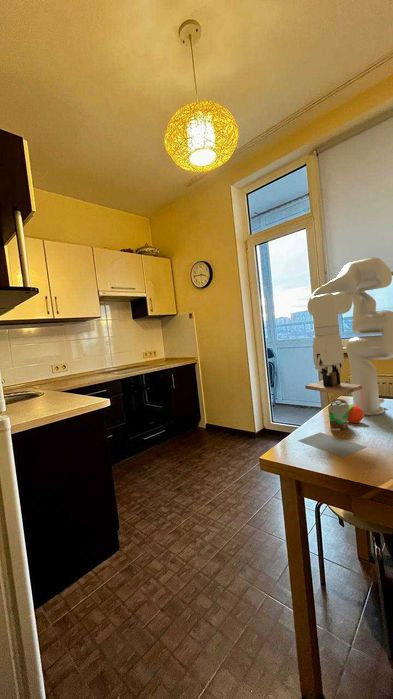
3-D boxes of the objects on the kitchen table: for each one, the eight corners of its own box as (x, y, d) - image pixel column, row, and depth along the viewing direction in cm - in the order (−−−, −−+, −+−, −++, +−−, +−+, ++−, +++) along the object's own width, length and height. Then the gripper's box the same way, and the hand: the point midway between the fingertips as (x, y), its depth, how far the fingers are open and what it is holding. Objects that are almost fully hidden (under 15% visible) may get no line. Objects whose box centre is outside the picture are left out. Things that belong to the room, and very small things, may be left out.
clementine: (359, 427, 105) (357, 408, 105) (339, 424, 110) (337, 406, 110) (367, 421, 110) (365, 403, 110) (347, 418, 116) (346, 401, 115)
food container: (349, 436, 99) (347, 407, 99) (330, 434, 102) (328, 406, 102) (352, 424, 110) (350, 398, 109) (334, 423, 113) (332, 397, 112)
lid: (322, 383, 107) (321, 368, 106) (361, 388, 93) (360, 371, 93) (305, 388, 103) (303, 373, 102) (343, 395, 89) (342, 377, 89)
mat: (320, 434, 103) (320, 432, 103) (366, 449, 88) (366, 446, 88) (297, 442, 98) (297, 440, 98) (343, 460, 83) (342, 457, 83)
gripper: (333, 329, 104) (338, 379, 105) (300, 335, 96) (306, 389, 98) (352, 327, 97) (357, 381, 98) (319, 334, 90) (325, 392, 91)
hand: (332, 384), depth 98 cm, fingers closed on lid, 3 cm apart
